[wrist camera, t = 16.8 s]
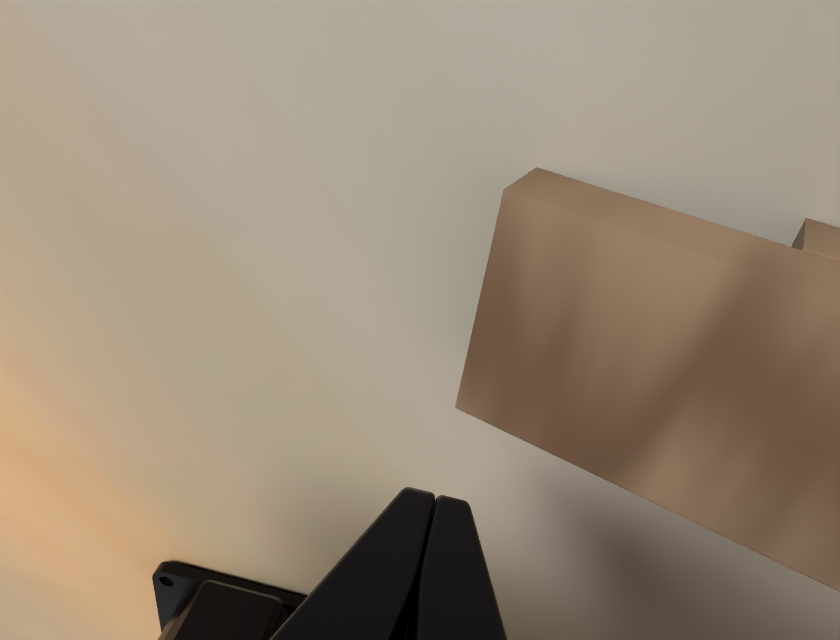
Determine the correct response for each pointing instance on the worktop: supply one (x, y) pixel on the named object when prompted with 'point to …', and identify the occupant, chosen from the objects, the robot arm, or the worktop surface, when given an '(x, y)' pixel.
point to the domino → (667, 362)
